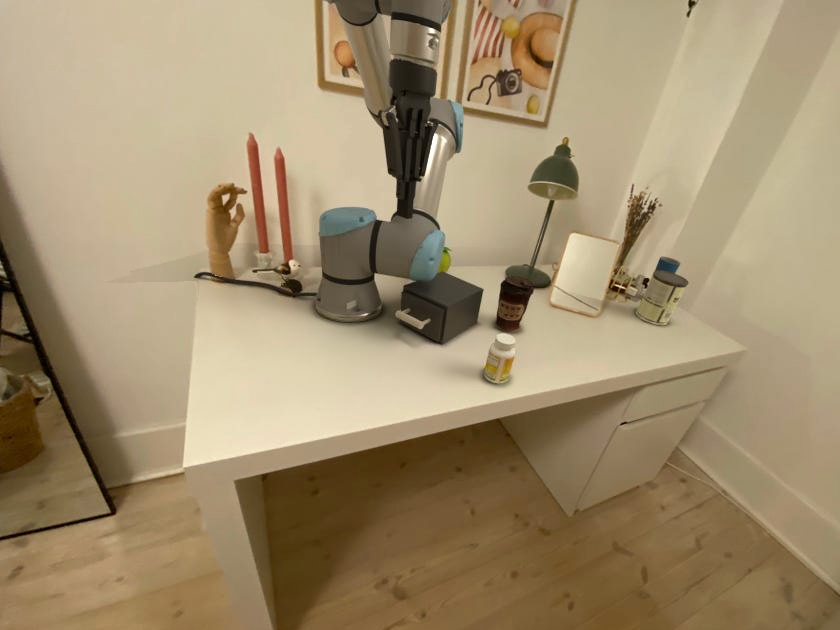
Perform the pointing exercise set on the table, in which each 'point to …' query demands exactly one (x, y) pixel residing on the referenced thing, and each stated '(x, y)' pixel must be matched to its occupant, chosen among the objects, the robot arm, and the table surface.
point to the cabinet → (450, 301)
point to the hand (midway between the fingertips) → (404, 216)
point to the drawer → (421, 315)
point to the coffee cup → (513, 302)
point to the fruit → (445, 261)
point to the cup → (667, 264)
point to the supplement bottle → (500, 359)
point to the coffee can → (661, 297)
